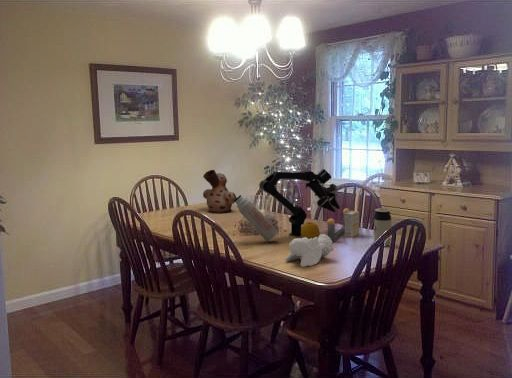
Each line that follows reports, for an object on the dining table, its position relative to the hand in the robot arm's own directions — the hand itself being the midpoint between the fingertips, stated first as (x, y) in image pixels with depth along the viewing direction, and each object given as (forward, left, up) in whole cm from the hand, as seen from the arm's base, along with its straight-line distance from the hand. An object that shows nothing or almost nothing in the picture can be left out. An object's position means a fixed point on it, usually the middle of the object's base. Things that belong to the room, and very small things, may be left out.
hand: (337, 210), depth 266 cm
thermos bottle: (-28, +26, -11) cm, 40 cm away
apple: (-25, +7, -14) cm, 29 cm away
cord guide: (0, -1, -14) cm, 14 cm away
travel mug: (-13, -27, -14) cm, 33 cm away
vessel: (+34, +96, -14) cm, 103 cm away
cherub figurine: (-53, -3, -14) cm, 55 cm away
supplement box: (0, -8, -14) cm, 16 cm away
